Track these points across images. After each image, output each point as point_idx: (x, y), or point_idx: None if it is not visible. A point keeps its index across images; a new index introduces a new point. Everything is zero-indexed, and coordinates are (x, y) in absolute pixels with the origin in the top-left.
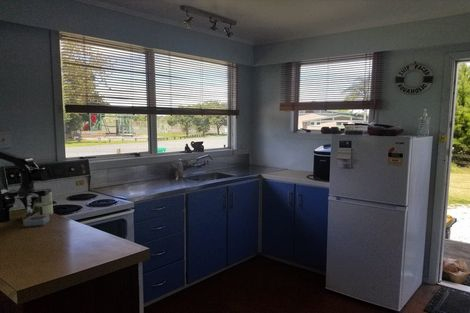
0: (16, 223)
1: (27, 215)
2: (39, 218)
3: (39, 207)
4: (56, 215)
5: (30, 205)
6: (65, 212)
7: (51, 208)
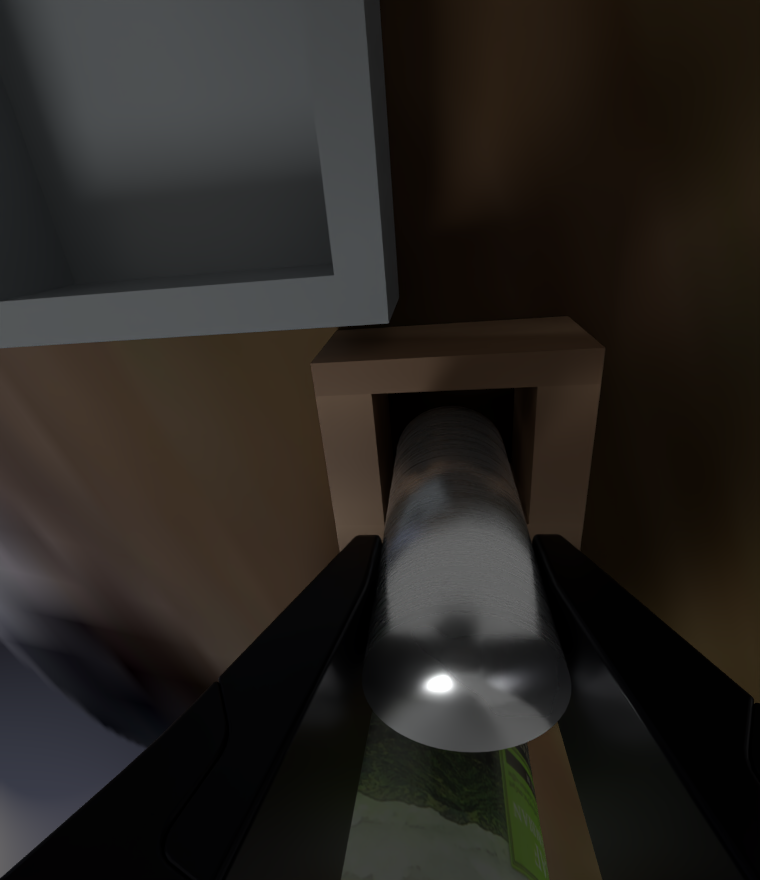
0: (673, 220)
1: (496, 431)
2: (182, 279)
3: (380, 769)
4: (162, 598)
5: (384, 616)
6: (134, 696)
7: None
